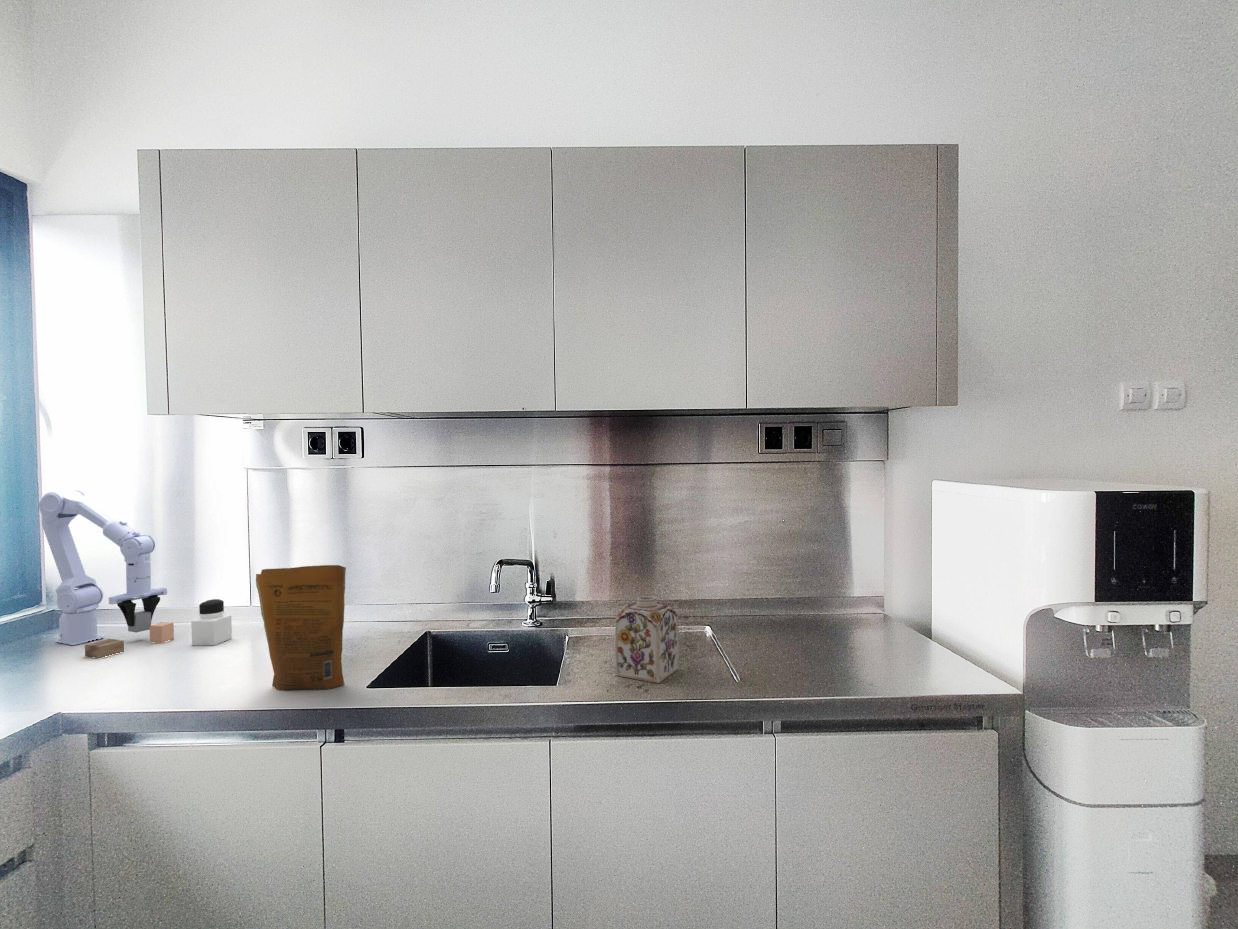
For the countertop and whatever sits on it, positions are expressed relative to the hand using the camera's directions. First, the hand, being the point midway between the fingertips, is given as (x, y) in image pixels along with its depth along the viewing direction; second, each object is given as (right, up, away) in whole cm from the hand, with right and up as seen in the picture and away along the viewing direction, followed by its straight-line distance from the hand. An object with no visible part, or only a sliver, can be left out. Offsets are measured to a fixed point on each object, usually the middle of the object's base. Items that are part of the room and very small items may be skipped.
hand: (139, 623), depth 188 cm
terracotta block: (+7, -5, -1) cm, 9 cm away
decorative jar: (+147, -3, -35) cm, 151 cm away
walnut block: (+1, -5, -13) cm, 14 cm away
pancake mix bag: (+69, -4, -41) cm, 81 cm away
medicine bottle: (+23, -5, -3) cm, 24 cm away
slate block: (0, -2, 0) cm, 2 cm away
